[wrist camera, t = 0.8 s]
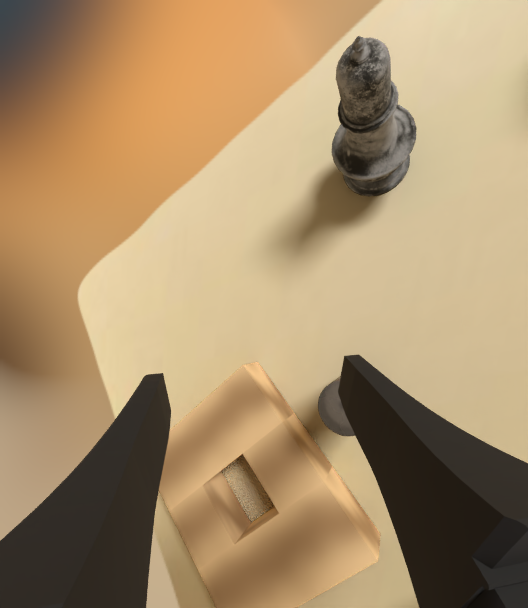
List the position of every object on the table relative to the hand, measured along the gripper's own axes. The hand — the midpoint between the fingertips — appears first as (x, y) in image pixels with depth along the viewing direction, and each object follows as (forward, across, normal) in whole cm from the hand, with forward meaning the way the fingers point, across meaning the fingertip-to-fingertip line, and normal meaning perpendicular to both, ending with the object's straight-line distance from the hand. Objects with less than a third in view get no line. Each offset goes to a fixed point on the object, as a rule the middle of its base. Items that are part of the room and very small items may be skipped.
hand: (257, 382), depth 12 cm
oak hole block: (+6, 0, +19) cm, 20 cm away
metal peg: (+7, -9, +9) cm, 15 cm away
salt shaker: (+18, -12, -6) cm, 22 cm away
